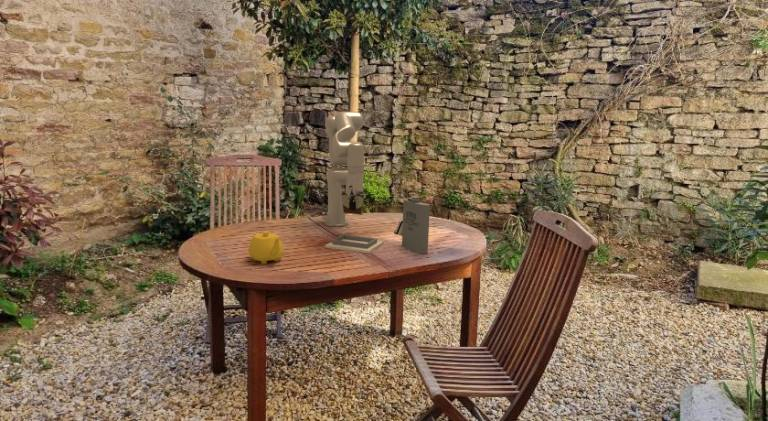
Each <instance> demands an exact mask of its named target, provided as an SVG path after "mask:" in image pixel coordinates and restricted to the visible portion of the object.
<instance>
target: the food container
mask: <svg viewBox="0 0 768 421" xmlns="http://www.w3.org/2000/svg"><path fill="white" fill-rule="evenodd" d="M351 195H354V194H351ZM341 196H342V204H343V213H345V214H350V215H358V216H362V215H363V210H364V203H365V199H366V197H367V195H366V193H365V192H364V191H363V192H361V194H357V195H356V198H355V202H356V210H349V198H348V196H347V194H346V190H344V191H342V193H341ZM352 197H354V196H352Z"/></svg>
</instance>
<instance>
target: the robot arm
mask: <svg viewBox="0 0 768 421" xmlns="http://www.w3.org/2000/svg"><path fill="white" fill-rule="evenodd" d="M364 122H365V121H364V116H363V114H362V113H361V112H360V111H339V112H337V113H336V114H335V115H329V116H327V117H326V118H325V122H324V123H325V124H324V125H325V131H326V134H327V137H328V150H329V152H328V153H329V154H328V156H329V157H328V159H329V160H328V161H329V163H330V164H331V165H333V166H347V167H333V168H329V169H328V170H327V172H326V181H327V182H326V183H327V198H328V199H327V215H322V216H321V219H322V220H325V223H324V224H325V225H326V226H327V227H328V226H329V227H345V226H347V225H348V224H349V222H348V221H347V220H346V213H343V204H342V196H341V193H342V191H346V194H347V196H348V198H349V210H356V202H355V198H356V195H357V194H361V192H364V172H365V171H364V170H365V168H364V167H365V146H364V144H363V143H362V142H360V141H350V140H352V139H353V138H354V136H355V135H356V133H357V132H358V131H360V130H361V129H362V128H363V126H364ZM342 186H345V190H344V189H343V188H342ZM351 194H354V195H351ZM352 196H354V197H352Z"/></svg>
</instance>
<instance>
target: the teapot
mask: <svg viewBox="0 0 768 421" xmlns="http://www.w3.org/2000/svg"><path fill="white" fill-rule="evenodd" d="M247 253H248V255H249V256H250V258H251V259H253V262H260V264H261V265H267V263H268V261H273V262H276V263H277V262H280V259H281V258H282V257H283V255H284V253H285V249H284V245H283V241H282V240H281V238H280V236H279V235H278V234H275V233H272V232H270V231H268V230H264V231H262V233H257V232H254V233H253V236H252V237H251V240H250V243H249V246H248V252H247Z"/></svg>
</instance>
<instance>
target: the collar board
mask: <svg viewBox="0 0 768 421" xmlns="http://www.w3.org/2000/svg"><path fill="white" fill-rule="evenodd" d="M382 245H384V241H381V240H378V238H376V237H375V238H374V237H367V236H359V235H350V234H341V235H339V236H337V237H336V238H333V239H331V241H330V242H329V243H326V244H325V245H324V248H326V249H333V250H339V251H340V250H341V251H348V252H356V253H364V254H370V253H372V252H374V251H376V250H377V249H378V248H380V247H381V246H382Z"/></svg>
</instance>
